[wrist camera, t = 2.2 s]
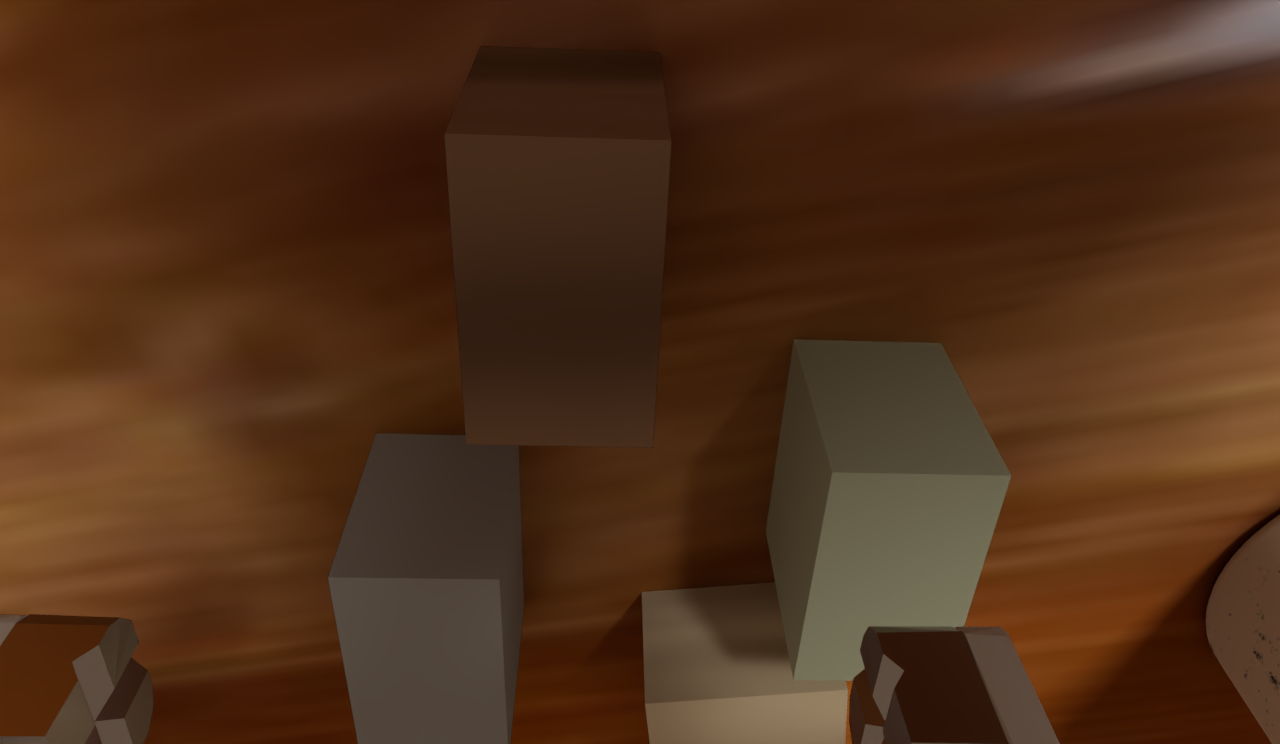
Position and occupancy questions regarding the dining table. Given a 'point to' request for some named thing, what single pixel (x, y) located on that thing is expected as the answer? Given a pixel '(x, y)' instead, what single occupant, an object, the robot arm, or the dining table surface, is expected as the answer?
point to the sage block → (876, 498)
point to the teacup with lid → (1251, 625)
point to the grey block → (432, 591)
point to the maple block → (730, 672)
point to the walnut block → (559, 244)
